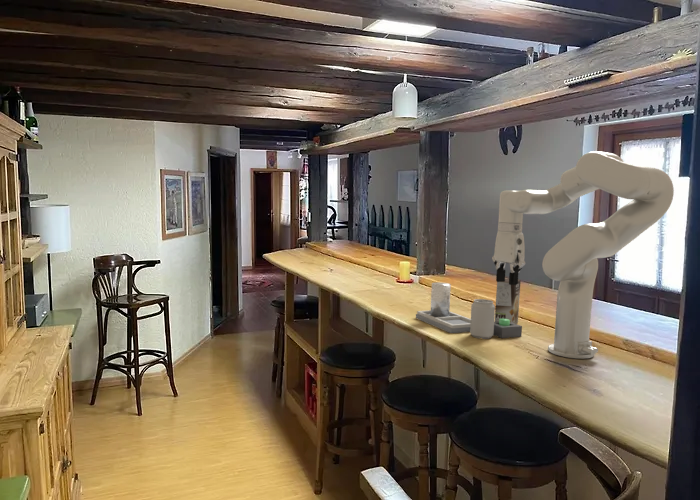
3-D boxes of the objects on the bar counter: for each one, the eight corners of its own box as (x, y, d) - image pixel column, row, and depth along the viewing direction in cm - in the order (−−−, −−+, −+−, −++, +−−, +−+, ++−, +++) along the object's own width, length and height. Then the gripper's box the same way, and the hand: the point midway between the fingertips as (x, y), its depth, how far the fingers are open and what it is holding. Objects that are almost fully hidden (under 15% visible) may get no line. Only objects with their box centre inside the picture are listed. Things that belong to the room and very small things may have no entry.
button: (511, 329, 177) (512, 320, 177) (503, 330, 176) (503, 321, 176) (504, 326, 180) (505, 318, 180) (496, 327, 179) (497, 318, 179)
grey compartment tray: (482, 330, 183) (483, 323, 183) (450, 333, 178) (451, 325, 177) (445, 316, 204) (445, 309, 204) (415, 318, 199) (416, 311, 198)
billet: (452, 317, 194) (454, 285, 193) (436, 318, 191) (438, 285, 190) (442, 313, 200) (444, 282, 199) (426, 314, 197) (428, 282, 196)
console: (521, 336, 176) (522, 326, 176) (501, 338, 173) (502, 327, 173) (505, 330, 184) (505, 320, 183) (486, 332, 180) (486, 322, 180)
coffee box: (511, 327, 188) (514, 282, 187) (493, 325, 191) (496, 280, 190) (518, 323, 196) (521, 279, 194) (500, 320, 199) (503, 277, 198)
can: (491, 334, 178) (493, 298, 177) (495, 340, 171) (497, 303, 170) (468, 333, 179) (470, 297, 178) (471, 338, 171) (473, 301, 170)
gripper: (537, 230, 169) (534, 286, 170) (502, 226, 184) (499, 278, 186) (518, 230, 166) (515, 287, 167) (484, 226, 181) (481, 279, 183)
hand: (506, 282), depth 177 cm, fingers open, 5 cm apart
